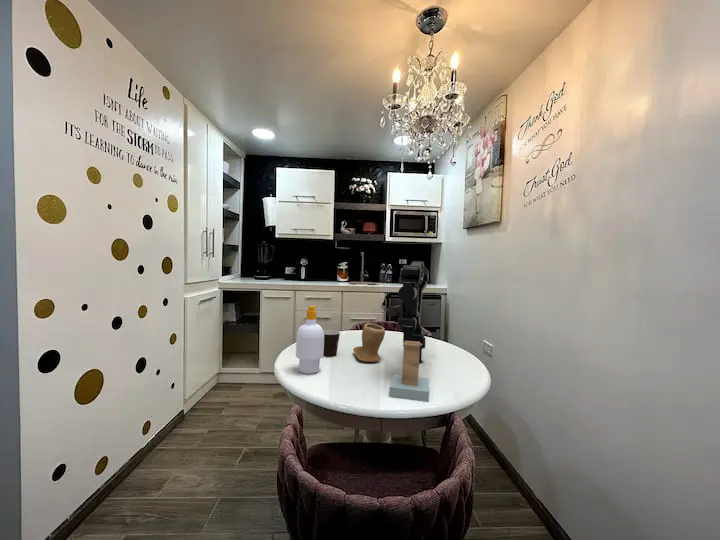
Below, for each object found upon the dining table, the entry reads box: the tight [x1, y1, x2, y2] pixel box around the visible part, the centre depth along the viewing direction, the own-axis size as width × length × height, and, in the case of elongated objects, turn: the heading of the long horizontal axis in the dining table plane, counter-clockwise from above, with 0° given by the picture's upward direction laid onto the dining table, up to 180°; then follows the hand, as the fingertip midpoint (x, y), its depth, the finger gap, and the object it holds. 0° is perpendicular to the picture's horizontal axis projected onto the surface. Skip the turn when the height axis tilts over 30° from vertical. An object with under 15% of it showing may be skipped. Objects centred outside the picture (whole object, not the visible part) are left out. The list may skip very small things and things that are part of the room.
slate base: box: [389, 373, 430, 402], centre depth 107 cm, size 12×12×3 cm
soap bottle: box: [295, 305, 324, 375], centre depth 122 cm, size 10×10×24 cm
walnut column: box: [401, 341, 420, 386], centre depth 107 cm, size 5×5×13 cm
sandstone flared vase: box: [352, 323, 386, 363], centre depth 140 cm, size 15×12×15 cm
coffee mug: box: [323, 329, 341, 358], centre depth 144 cm, size 12×9×10 cm
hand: (408, 340), depth 121 cm, fingers open, 9 cm apart
